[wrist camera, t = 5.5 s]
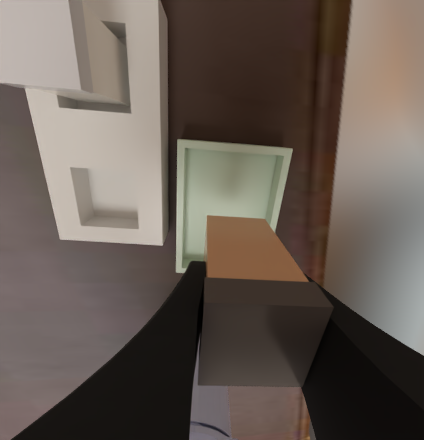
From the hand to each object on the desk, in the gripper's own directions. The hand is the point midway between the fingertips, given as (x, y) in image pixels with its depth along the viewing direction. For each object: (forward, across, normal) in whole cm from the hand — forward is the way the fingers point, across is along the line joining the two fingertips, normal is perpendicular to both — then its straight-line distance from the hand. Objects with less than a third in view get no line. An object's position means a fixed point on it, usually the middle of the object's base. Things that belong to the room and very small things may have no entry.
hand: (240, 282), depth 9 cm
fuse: (+9, +9, -9) cm, 16 cm away
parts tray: (+10, 0, 0) cm, 10 cm away
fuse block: (+10, +9, -5) cm, 14 cm away
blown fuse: (+3, 0, 0) cm, 3 cm away
